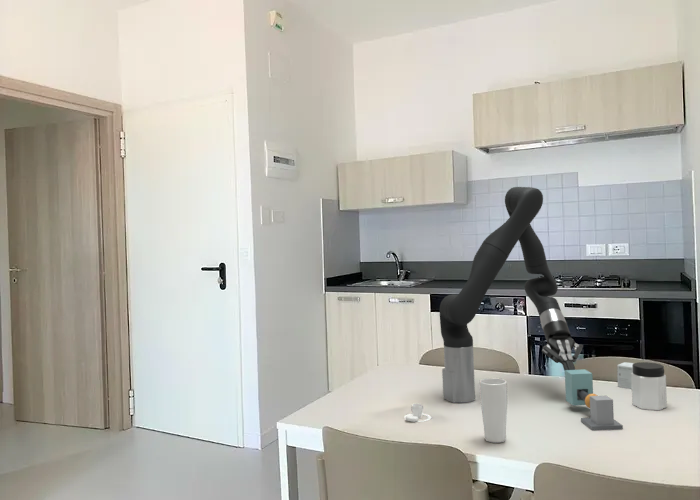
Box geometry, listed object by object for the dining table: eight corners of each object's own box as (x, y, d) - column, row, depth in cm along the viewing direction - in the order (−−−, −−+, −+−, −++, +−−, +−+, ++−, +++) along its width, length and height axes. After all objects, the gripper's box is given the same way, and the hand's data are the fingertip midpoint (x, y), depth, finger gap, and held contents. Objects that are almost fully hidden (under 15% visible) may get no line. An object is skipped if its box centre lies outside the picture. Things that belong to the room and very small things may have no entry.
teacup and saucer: (411, 426, 155) (410, 411, 155) (396, 418, 162) (395, 404, 162) (437, 420, 159) (436, 406, 159) (421, 413, 166) (420, 399, 166)
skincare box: (617, 387, 183) (616, 364, 183) (624, 383, 187) (624, 361, 187) (636, 390, 178) (635, 367, 178) (643, 386, 183) (643, 363, 182)
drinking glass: (478, 436, 143) (475, 378, 143) (503, 434, 144) (501, 376, 144) (486, 445, 137) (484, 385, 136) (513, 443, 137) (511, 383, 137)
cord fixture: (622, 429, 144) (621, 400, 144) (592, 430, 144) (591, 401, 144) (585, 403, 167) (584, 378, 167) (558, 404, 167) (558, 379, 167)
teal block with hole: (593, 404, 159) (592, 373, 159) (572, 405, 159) (571, 374, 159) (586, 399, 164) (585, 369, 164) (565, 400, 164) (564, 370, 164)
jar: (655, 412, 156) (654, 370, 156) (627, 406, 163) (626, 365, 162) (671, 406, 161) (670, 365, 161) (643, 400, 168) (642, 360, 167)
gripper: (536, 320, 176) (552, 367, 164) (578, 318, 176) (596, 365, 164) (531, 333, 181) (546, 380, 169) (572, 332, 181) (589, 378, 169)
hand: (571, 373), depth 167 cm, fingers closed
